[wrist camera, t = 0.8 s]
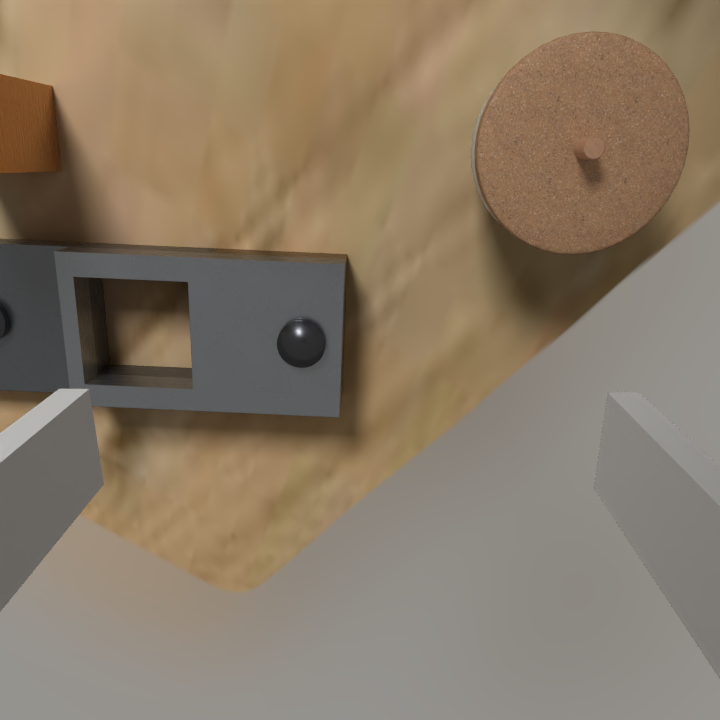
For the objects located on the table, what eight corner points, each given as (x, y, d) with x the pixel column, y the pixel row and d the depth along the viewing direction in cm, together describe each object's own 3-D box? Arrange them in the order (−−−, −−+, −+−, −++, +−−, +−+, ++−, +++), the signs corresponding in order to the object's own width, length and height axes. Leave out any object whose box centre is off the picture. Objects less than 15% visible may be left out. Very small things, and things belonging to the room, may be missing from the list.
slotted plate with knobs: (-44, 236, 40) (-95, 246, 36) (347, 254, 40) (344, 265, 36) (-21, 378, 43) (-65, 402, 39) (342, 394, 43) (338, 421, 39)
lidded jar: (533, 271, 41) (579, 302, 32) (421, 153, 38) (436, 151, 29) (664, 148, 38) (754, 145, 29) (551, 14, 36) (612, -34, 27)
